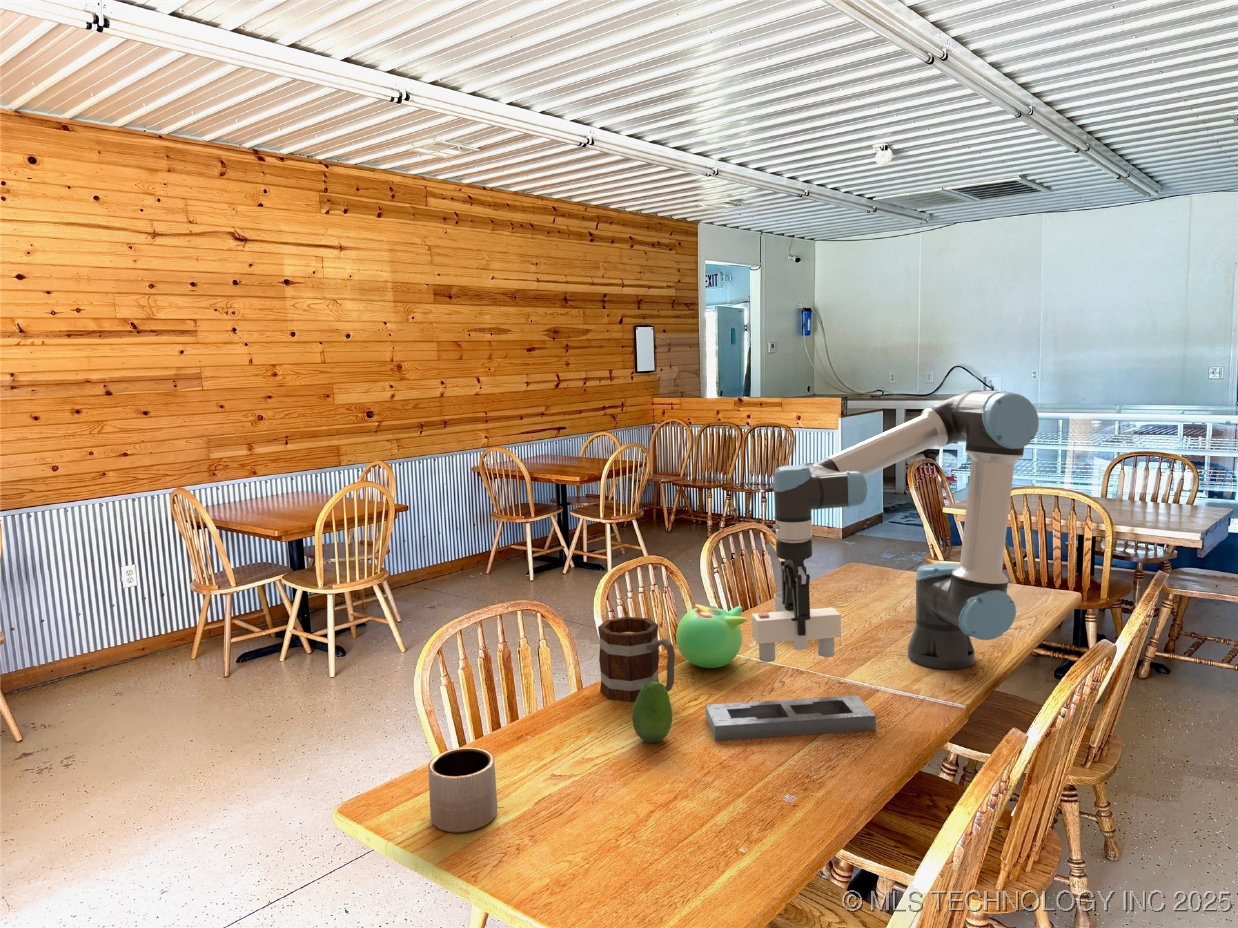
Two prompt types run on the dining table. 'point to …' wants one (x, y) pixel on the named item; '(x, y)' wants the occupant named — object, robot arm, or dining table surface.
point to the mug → (631, 657)
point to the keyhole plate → (789, 717)
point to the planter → (462, 789)
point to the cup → (778, 602)
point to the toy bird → (710, 635)
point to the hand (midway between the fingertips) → (796, 643)
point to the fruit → (652, 712)
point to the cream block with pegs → (781, 630)
